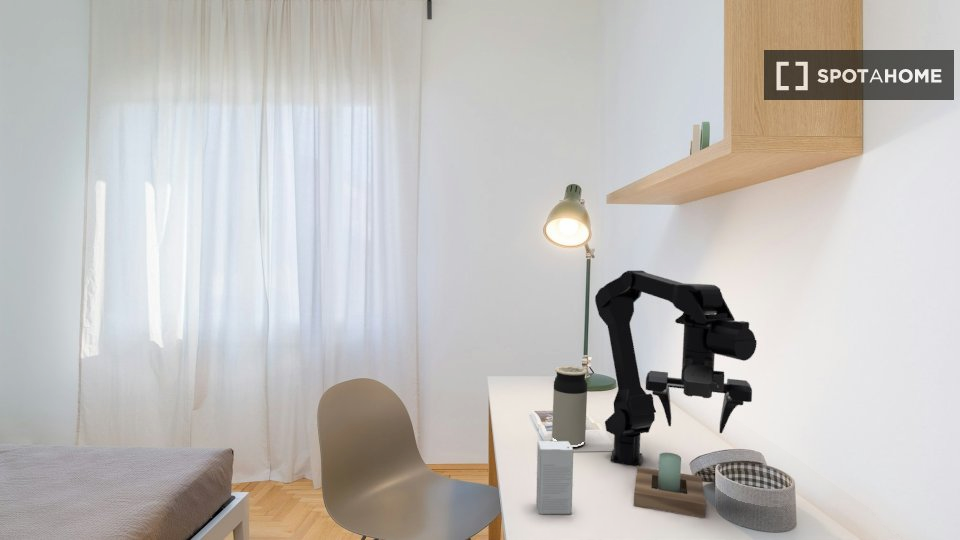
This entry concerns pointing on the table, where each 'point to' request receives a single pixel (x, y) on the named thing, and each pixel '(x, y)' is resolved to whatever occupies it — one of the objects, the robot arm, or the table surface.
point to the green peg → (669, 472)
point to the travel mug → (569, 405)
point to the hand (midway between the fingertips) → (694, 429)
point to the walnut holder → (670, 494)
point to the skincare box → (554, 477)
